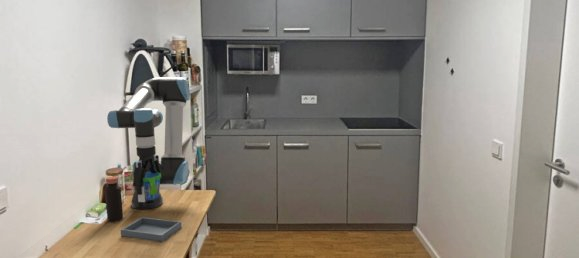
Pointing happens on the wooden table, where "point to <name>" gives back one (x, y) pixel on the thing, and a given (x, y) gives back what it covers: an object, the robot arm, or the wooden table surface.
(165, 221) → the tray
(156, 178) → the snack cup
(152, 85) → the robot arm
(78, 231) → the wooden table surface
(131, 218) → the wooden table surface
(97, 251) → the wooden table surface
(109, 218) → the bottle
